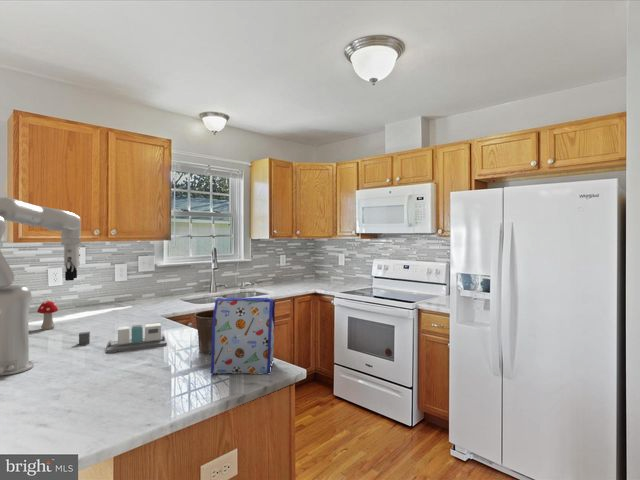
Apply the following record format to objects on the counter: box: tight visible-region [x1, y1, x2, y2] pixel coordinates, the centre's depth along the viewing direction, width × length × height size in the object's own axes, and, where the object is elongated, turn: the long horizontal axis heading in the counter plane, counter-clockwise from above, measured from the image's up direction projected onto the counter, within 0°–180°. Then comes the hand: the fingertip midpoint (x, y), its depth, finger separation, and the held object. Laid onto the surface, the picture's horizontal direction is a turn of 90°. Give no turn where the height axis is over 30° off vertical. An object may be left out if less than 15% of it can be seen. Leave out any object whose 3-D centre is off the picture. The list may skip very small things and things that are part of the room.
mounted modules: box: [117, 322, 162, 344], centre depth 169 cm, size 6×18×6 cm, turn 117°
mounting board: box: [105, 335, 168, 354], centre depth 169 cm, size 14×24×1 cm, turn 117°
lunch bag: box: [210, 297, 276, 375], centre depth 139 cm, size 23×17×27 cm
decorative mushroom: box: [37, 300, 59, 331], centre depth 199 cm, size 10×9×15 cm
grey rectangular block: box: [78, 331, 91, 346], centre depth 171 cm, size 3×4×5 cm
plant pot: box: [194, 309, 214, 355], centre depth 161 cm, size 16×16×16 cm
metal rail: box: [107, 334, 166, 347], centre depth 169 cm, size 4×23×2 cm, turn 117°
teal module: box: [131, 324, 144, 343], centre depth 169 cm, size 6×4×7 cm
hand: (71, 279), depth 169 cm, fingers open, 9 cm apart
